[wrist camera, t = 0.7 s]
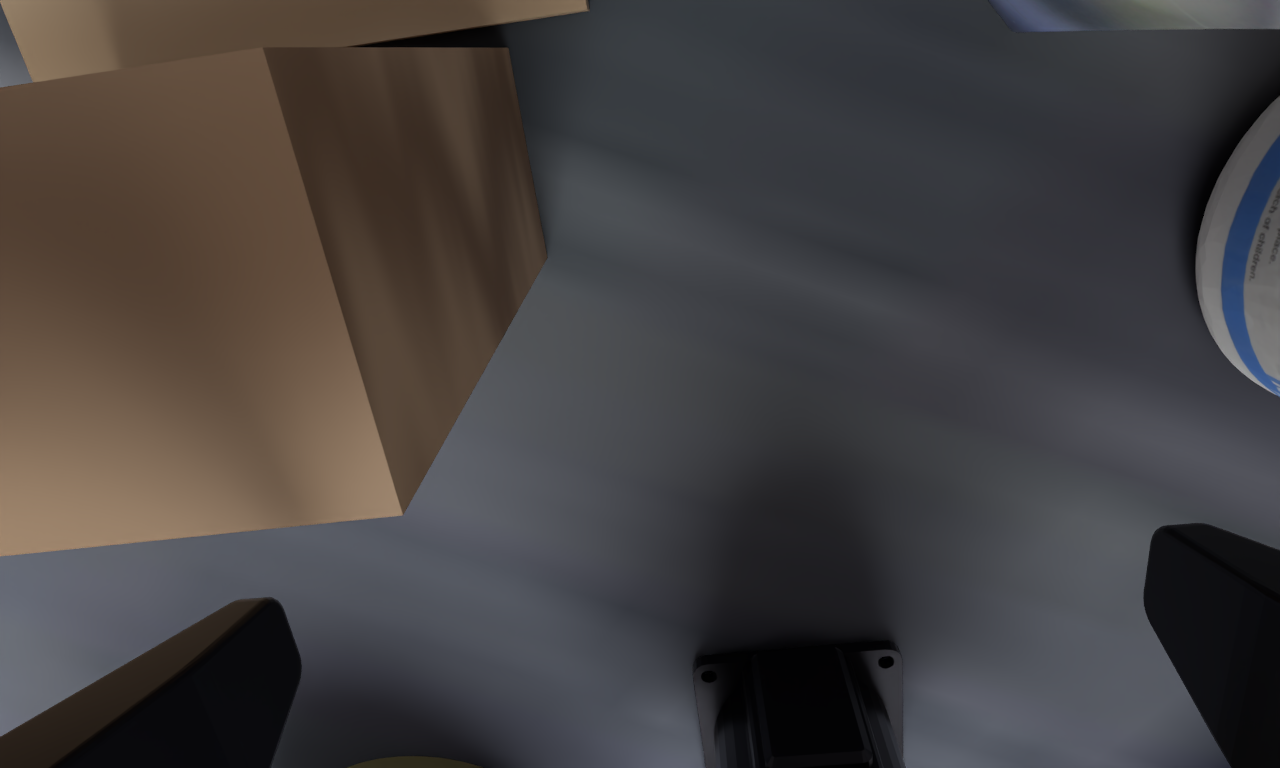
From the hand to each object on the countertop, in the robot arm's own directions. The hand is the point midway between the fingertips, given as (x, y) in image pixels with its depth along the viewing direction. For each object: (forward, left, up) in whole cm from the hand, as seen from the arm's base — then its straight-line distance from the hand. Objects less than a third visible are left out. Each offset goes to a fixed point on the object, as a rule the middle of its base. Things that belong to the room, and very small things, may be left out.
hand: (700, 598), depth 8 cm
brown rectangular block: (+3, +8, -13) cm, 16 cm away
